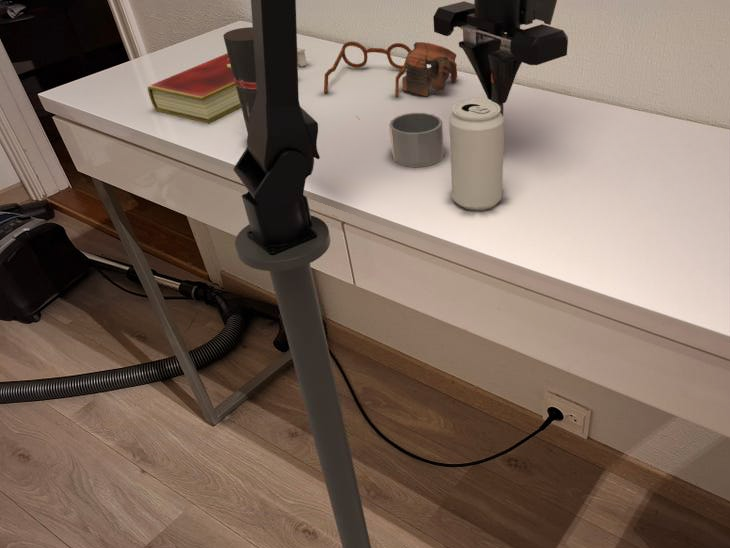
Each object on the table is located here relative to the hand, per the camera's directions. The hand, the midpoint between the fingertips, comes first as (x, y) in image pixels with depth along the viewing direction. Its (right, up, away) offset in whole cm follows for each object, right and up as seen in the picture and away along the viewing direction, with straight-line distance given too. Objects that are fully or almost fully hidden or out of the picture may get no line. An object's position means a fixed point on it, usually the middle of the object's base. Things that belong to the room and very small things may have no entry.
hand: (497, 101), depth 89 cm
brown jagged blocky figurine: (-10, +12, +27) cm, 31 cm away
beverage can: (-3, -14, -3) cm, 14 cm away
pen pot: (-11, -5, +7) cm, 14 cm away
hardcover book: (-45, +11, +26) cm, 53 cm away
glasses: (-22, +14, +29) cm, 39 cm away
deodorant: (-33, -2, +12) cm, 35 cm away
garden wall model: (-39, +22, +39) cm, 60 cm away
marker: (0, -4, +4) cm, 6 cm away
